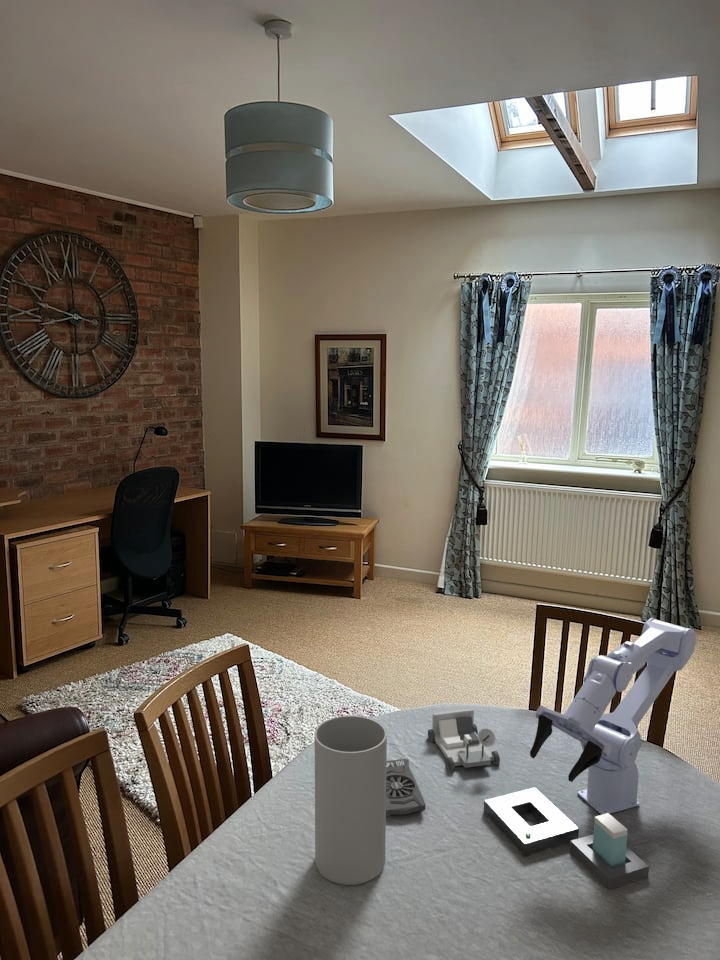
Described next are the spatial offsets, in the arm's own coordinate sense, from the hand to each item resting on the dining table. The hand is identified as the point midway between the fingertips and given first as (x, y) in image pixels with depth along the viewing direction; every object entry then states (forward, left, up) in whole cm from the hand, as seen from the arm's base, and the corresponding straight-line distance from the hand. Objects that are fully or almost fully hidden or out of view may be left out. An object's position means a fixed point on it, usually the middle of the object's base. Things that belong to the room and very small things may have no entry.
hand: (550, 767), depth 131 cm
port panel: (-1, -6, -16) cm, 17 cm away
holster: (-8, +8, -16) cm, 19 cm away
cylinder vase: (+35, -9, -16) cm, 40 cm away
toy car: (-2, -33, -17) cm, 37 cm away
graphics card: (+20, -25, -17) cm, 36 cm away
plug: (-8, +8, -16) cm, 19 cm away
